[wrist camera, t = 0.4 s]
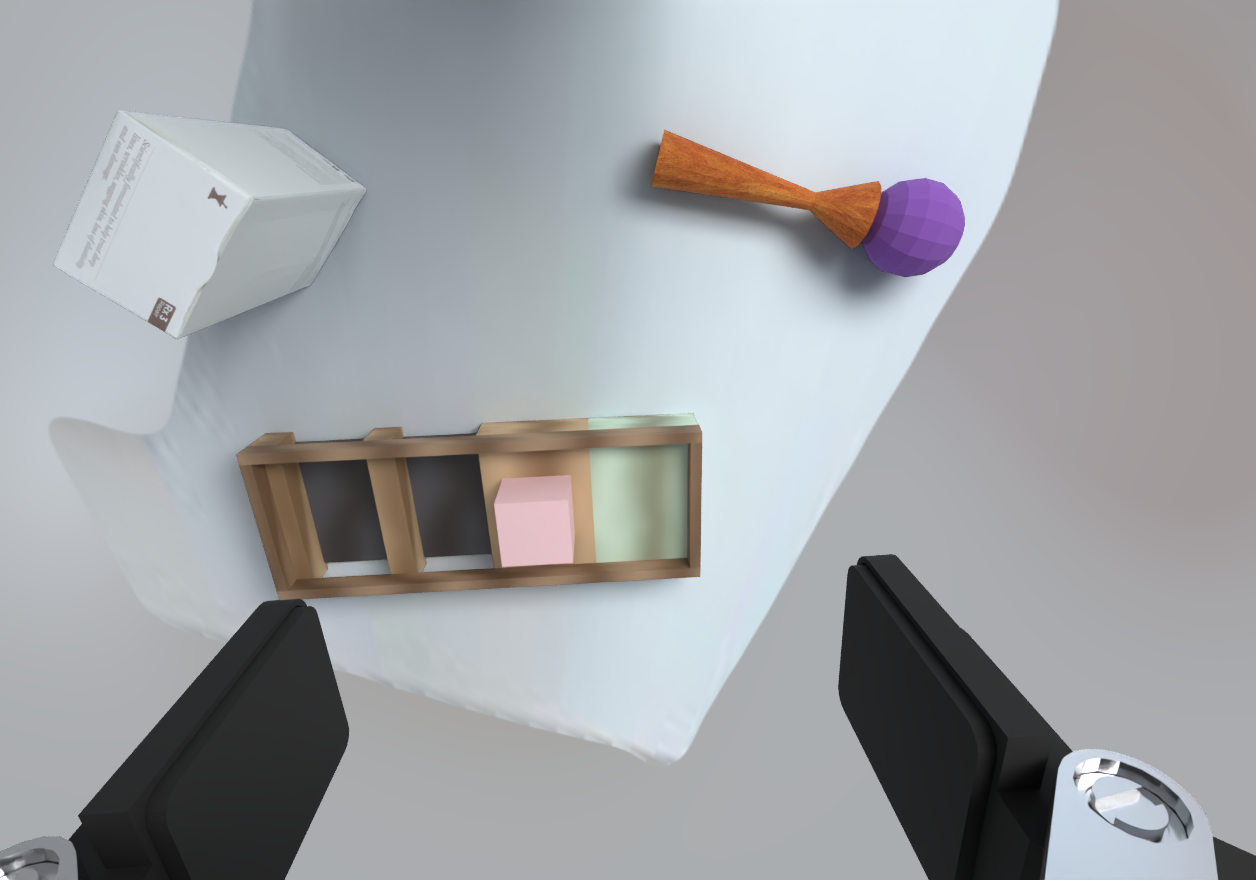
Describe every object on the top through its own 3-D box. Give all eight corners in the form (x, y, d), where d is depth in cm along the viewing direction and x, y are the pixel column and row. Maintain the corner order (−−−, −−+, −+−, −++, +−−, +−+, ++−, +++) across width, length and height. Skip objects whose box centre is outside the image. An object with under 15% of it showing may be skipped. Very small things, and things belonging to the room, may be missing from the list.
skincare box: (288, 127, 38) (112, 88, 24) (374, 192, 40) (255, 190, 26) (228, 238, 40) (35, 260, 26) (312, 296, 42) (171, 345, 28)
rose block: (502, 478, 45) (493, 504, 41) (570, 475, 45) (568, 500, 41) (509, 537, 47) (502, 567, 43) (574, 533, 47) (573, 563, 43)
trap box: (303, 570, 50) (279, 600, 46) (265, 433, 45) (236, 454, 42) (692, 548, 51) (700, 576, 47) (693, 413, 46) (702, 432, 43)
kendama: (674, 90, 35) (998, 182, 36) (665, 125, 41) (945, 203, 42) (647, 196, 36) (965, 282, 37) (643, 215, 42) (917, 289, 43)
